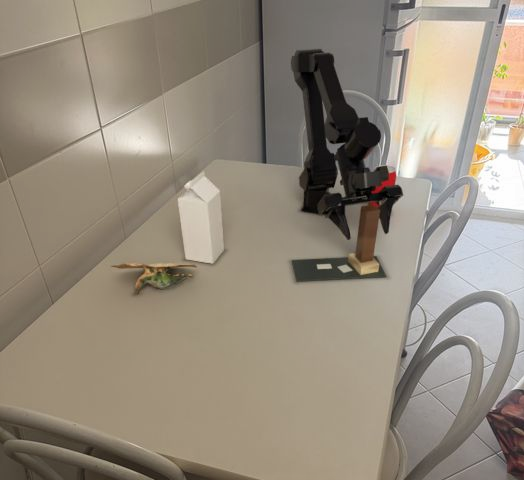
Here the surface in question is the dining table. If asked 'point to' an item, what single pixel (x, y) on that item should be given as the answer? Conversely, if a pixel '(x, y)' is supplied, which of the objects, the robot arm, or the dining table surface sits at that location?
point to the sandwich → (157, 274)
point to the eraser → (366, 241)
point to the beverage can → (385, 183)
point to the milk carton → (201, 220)
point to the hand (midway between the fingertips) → (368, 236)
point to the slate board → (330, 270)
